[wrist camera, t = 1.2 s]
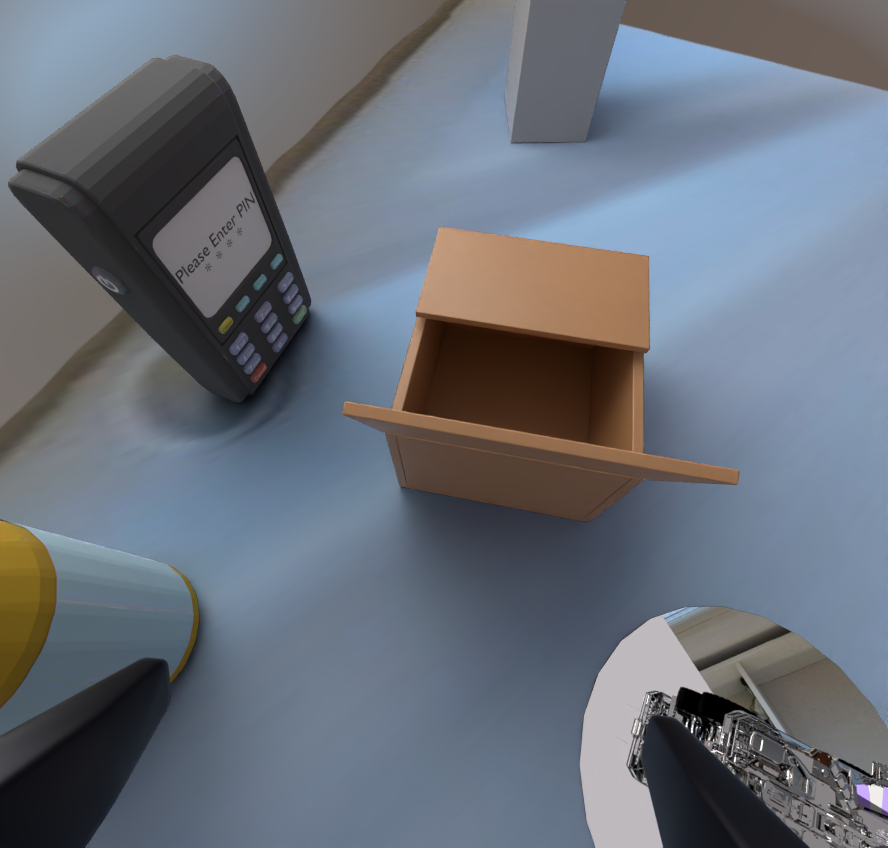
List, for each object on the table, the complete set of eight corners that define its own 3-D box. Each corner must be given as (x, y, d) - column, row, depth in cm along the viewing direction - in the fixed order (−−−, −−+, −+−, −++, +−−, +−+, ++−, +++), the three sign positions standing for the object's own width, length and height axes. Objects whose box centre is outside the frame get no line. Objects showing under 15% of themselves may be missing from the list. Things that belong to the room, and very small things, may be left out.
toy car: (930, 1152, 15) (1157, 1392, 10) (530, 887, 18) (562, 978, 13) (938, 701, 21) (1086, 721, 16) (634, 555, 24) (683, 534, 19)
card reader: (250, 416, 28) (68, 205, 14) (197, 393, 28) (-26, 173, 15) (323, 310, 31) (233, 63, 18) (274, 292, 32) (152, 41, 18)
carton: (589, 522, 25) (652, 474, 17) (399, 486, 26) (381, 425, 18) (598, 349, 30) (650, 254, 22) (439, 324, 31) (438, 224, 23)
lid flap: (651, 470, 17) (649, 480, 17) (384, 422, 18) (382, 432, 18) (740, 470, 12) (738, 485, 12) (344, 400, 13) (341, 414, 12)
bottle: (60, 590, 23) (-475, 527, 10) (196, 543, 24) (-111, 426, 11) (59, 741, 20) (-698, 952, 7) (214, 680, 21) (-174, 756, 8)
